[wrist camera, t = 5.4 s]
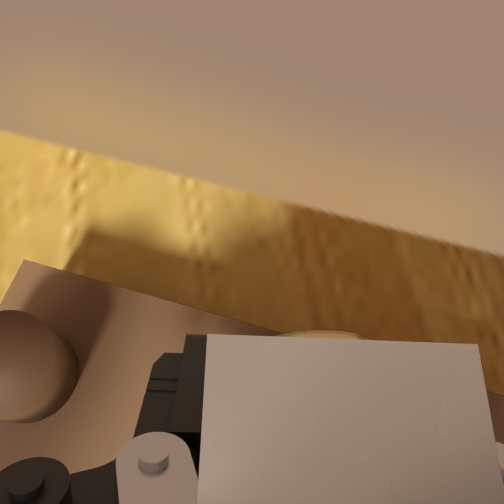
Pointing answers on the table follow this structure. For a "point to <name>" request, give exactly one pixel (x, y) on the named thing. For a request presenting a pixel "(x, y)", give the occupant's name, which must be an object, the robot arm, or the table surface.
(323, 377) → the lever cap
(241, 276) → the table surface
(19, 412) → the plane body
